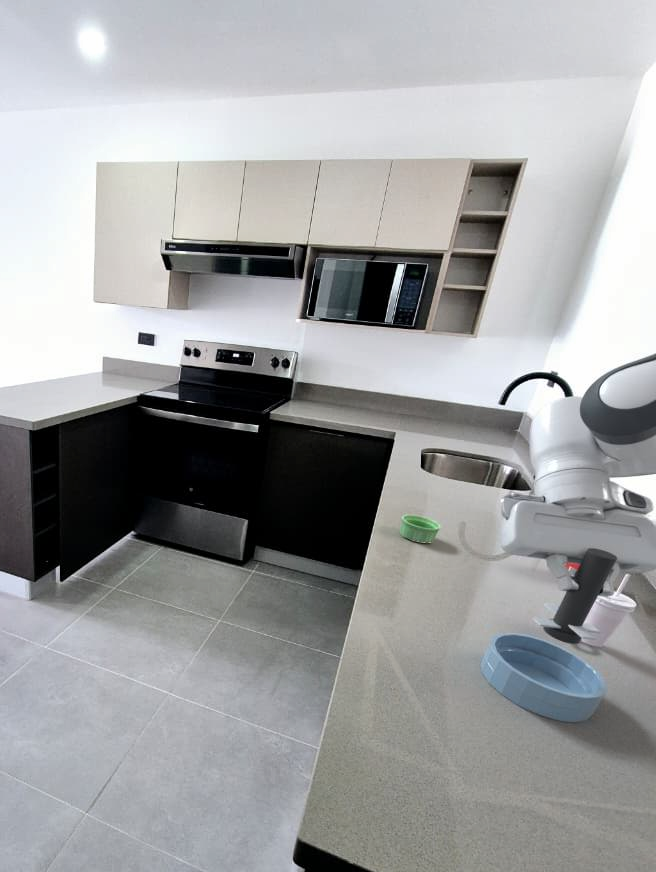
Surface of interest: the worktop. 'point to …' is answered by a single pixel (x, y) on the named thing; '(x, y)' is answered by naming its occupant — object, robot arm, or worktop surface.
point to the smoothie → (608, 614)
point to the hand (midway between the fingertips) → (586, 593)
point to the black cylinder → (579, 600)
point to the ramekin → (419, 528)
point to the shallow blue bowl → (542, 677)
